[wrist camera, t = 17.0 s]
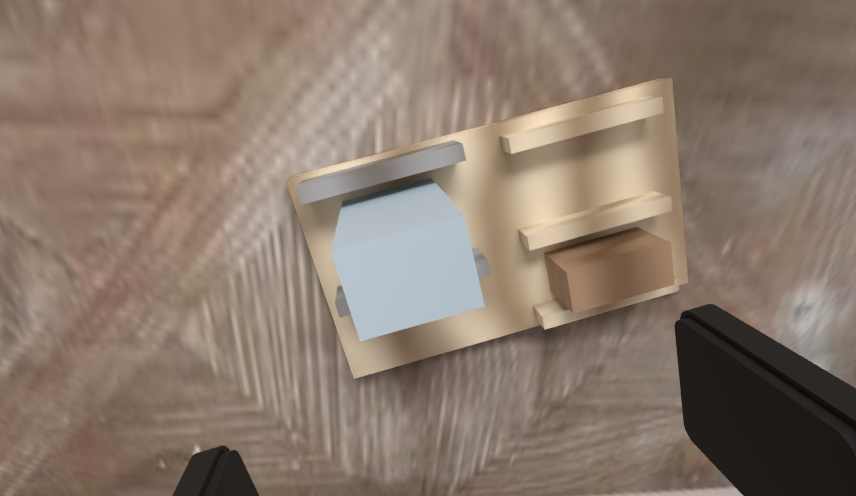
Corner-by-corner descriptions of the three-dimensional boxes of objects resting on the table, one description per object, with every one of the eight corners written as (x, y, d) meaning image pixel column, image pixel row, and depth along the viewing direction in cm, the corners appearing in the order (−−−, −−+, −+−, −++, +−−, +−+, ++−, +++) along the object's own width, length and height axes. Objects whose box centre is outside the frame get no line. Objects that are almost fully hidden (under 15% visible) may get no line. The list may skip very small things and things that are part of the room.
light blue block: (431, 177, 31) (464, 215, 21) (446, 241, 33) (484, 306, 22) (342, 201, 31) (330, 251, 21) (361, 264, 32) (359, 341, 22)
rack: (658, 78, 33) (702, 75, 29) (676, 275, 38) (716, 298, 33) (288, 177, 32) (277, 188, 27) (354, 368, 36) (352, 403, 32)
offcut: (637, 226, 34) (670, 242, 30) (641, 265, 35) (674, 284, 31) (543, 253, 34) (566, 271, 30) (550, 290, 35) (573, 313, 31)
